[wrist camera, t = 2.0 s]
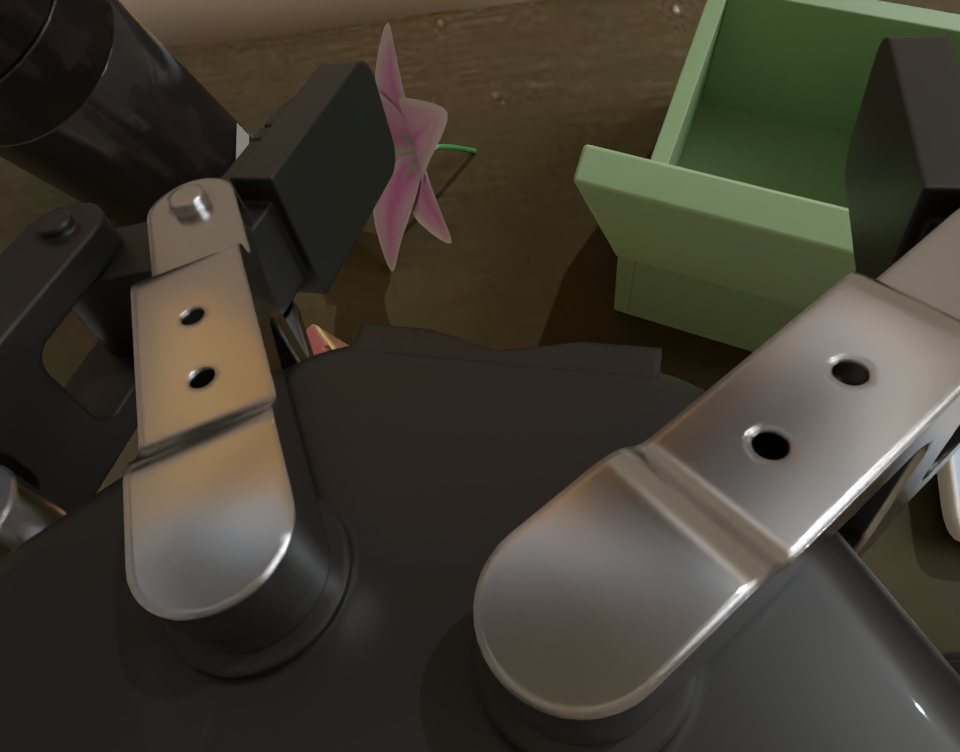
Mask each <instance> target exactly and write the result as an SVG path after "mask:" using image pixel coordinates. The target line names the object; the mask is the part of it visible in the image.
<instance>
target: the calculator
mask: <svg viewBox="0 0 960 752" xmlns="http://www.w3.org/2000/svg"><path fill="white" fill-rule="evenodd" d="M937 479H938V487H939V495H940V502H941V509H942V514H943V519H944V522H945V525H946V528H947V530H948V532H949V534H950V535H951V536H952V537H953V538H954V539H955V540H957V541H959V542H960V449H959V450H958V451H957V452H956V453H955V454H954V455H953V456H952V457H951V458H950V459H949V460H948V461H947V462H946V463H945V464H944V465H943V466H942V467H941V468H940V469H939V470H938V472H937Z"/></svg>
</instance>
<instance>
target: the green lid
mask: <svg viewBox="0 0 960 752" xmlns="http://www.w3.org/2000/svg"><path fill="white" fill-rule="evenodd" d="M574 183H575V184H576V186H577V188H578V190H579V191H580V193H581V195H582V197H583V198H584V200H585V202H586V204H587V205H588V207H589V209H590V211H591V212H592V214H593V216H594V218H595V219H596V221H597V223H598V225H599V226H600V228H601V230H602V232H603V233H604V235H605V237H606V239H607V240H608V242H609V244H610V246H611V247H612V249H613V251H614V253H615V254H616V255H617V256H619V257H622V258H626V259H629V260H633V261H637V262H640V263H644V264H647V265H651V266H654V267H658V268H661V269H665V270H668V271H672V272H675V273H679V274H682V275H686V276H689V277H693V278H696V279H700V280H704V281H707V282H711V283H714V284H718V285H721V286H725V287H728V288H732V289H735V290H739V291H742V292H746V293H749V294H753V295H756V296H760V297H764V298H767V299H771V300H774V301H778V302H781V303H785V304H788V305H792V306H795V307H799V308H802V309H806V308H807V307H808V306H809V305H811V304H812V303H813V302H814V301H815V300H817V299H818V298H819V297H820V296H821V295H823V294H824V293H825V292H826V291H827V290H829V289H830V288H831V287H832V286H833V285H835V284H836V283H837V282H838V281H840V280H841V279H842V278H843V277H845V276H846V275H848V274H850V273H852V272H854V271H856V267H855V259H854V251H853V242H852V234H851V226H850V218H849V210H848V208H845V207H841V206H837V205H833V204H829V203H825V202H820V201H816V200H812V199H808V198H804V197H800V196H796V195H792V194H788V193H784V192H780V191H776V190H772V189H768V188H763V187H759V186H755V185H751V184H747V183H743V182H739V181H735V180H731V179H727V178H723V177H719V176H715V175H711V174H707V173H702V172H698V171H694V170H690V169H686V168H682V167H678V166H674V165H670V164H666V163H662V162H658V161H654V160H650V159H645V158H641V157H637V156H633V155H629V154H625V153H621V152H617V151H613V150H609V149H605V148H601V147H597V146H593V145H585V146H584V147H583V149H582V153H581V156H580V159H579V162H578V165H577V169H576V172H575V175H574Z"/></svg>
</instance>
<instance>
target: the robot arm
mask: <svg viewBox="0 0 960 752" xmlns="http://www.w3.org/2000/svg"><path fill="white" fill-rule="evenodd" d="M0 157H2V158H4V159H6V160H7V161H9V162H11V163H13V164H15V165H16V166H18V167H20V168H22V169H23V170H25V171H27V172H29V173H31V174H32V175H34V176H36V177H38V178H39V179H41V180H43V181H45V182H47V183H48V184H50V185H52V186H54V187H55V188H57V189H59V190H61V191H63V192H64V193H66V194H68V195H70V196H71V197H73V198H75V199H77V200H78V201H80V202H82V203H76V204H71V205H67V206H64V207H61V208H58V209H56V210H53V211H51V212H49V213H47V214H46V215H44V216H42V217H40V218H39V219H37V220H36V221H34V222H33V223H32V224H31V225H29V226H28V227H27V228H26V229H25V230H24V231H23V232H22V233H21V234H20V235H19V236H18V237H17V238H16V240H15V241H14V242H13V243H12V244H11V245H10V246H9V247H8V248H7V249H6V250H5V251H4V252H3V253H2V254H1V255H0V752H960V676H959V674H958V673H957V672H956V671H955V670H954V669H953V667H952V666H951V665H950V664H949V663H948V661H947V660H946V659H945V658H944V657H943V656H942V654H941V653H940V652H939V651H938V650H937V648H936V647H935V646H934V645H933V644H932V642H931V641H930V640H929V639H928V638H927V637H926V635H925V634H924V633H923V632H922V631H921V629H920V628H919V627H918V626H917V625H916V624H915V622H914V621H913V620H912V619H911V618H910V616H909V615H908V614H907V613H906V612H905V610H904V609H903V608H902V607H901V606H900V605H899V603H898V602H897V601H896V600H895V599H894V597H893V596H892V595H891V594H890V593H889V592H888V590H887V589H886V588H885V587H884V586H883V584H882V583H881V582H880V581H879V580H878V578H877V577H876V576H875V575H874V574H873V573H872V571H871V570H870V569H869V568H868V567H867V565H866V564H865V563H864V562H863V561H862V560H861V558H860V557H861V556H862V555H863V554H864V553H865V552H866V551H867V550H868V549H869V548H870V547H871V546H872V545H873V543H874V542H875V541H876V540H877V539H878V538H879V537H880V535H881V534H882V533H883V532H884V531H885V530H886V528H887V527H888V526H889V525H890V524H891V522H892V521H893V520H894V519H895V517H896V516H897V515H898V514H899V513H900V511H901V510H902V509H903V508H904V507H905V505H906V504H907V503H908V502H909V501H910V500H911V499H912V498H913V497H914V495H915V494H916V493H917V492H918V491H919V490H920V489H921V488H922V487H923V486H924V485H925V484H926V483H927V482H928V481H929V480H930V479H931V478H932V477H933V476H934V475H935V474H936V473H937V472H938V470H939V469H940V468H941V467H942V466H943V465H944V464H945V463H946V462H947V461H948V460H949V459H950V458H951V457H952V456H953V455H954V454H955V453H956V452H957V451H958V450H959V449H960V68H959V65H958V62H957V60H956V57H955V54H954V51H953V48H952V45H951V43H950V40H949V37H948V36H947V35H925V36H904V37H885V38H884V39H883V40H882V42H881V44H880V46H879V48H878V50H877V53H876V56H875V59H874V62H873V66H872V69H871V73H870V76H869V79H868V83H867V86H866V89H865V93H864V96H863V99H862V103H861V106H860V110H859V113H858V116H857V120H856V123H855V126H854V130H853V133H852V136H851V140H850V144H849V148H848V153H847V159H846V168H845V185H846V193H847V201H848V210H849V218H850V226H851V234H852V242H853V251H854V259H855V267H856V271H854V272H852V273H850V274H848V275H846V276H845V277H843V278H842V279H841V280H840V281H838V282H837V283H836V284H835V285H833V286H832V287H831V288H830V289H829V290H827V291H826V292H825V293H824V294H823V295H821V296H820V297H819V298H818V299H817V300H815V301H814V302H813V303H812V304H811V305H809V306H808V307H807V308H806V309H805V310H803V311H802V312H801V313H800V314H799V315H797V316H796V317H795V318H794V319H793V320H791V321H790V322H789V323H788V324H787V325H785V326H784V327H783V328H782V329H781V330H779V331H778V332H777V333H776V334H775V335H773V336H772V337H771V338H770V339H769V340H767V341H766V342H765V343H764V344H762V345H761V346H760V347H759V348H758V349H756V350H755V351H754V352H753V353H752V354H750V355H749V356H748V357H747V358H746V359H744V360H743V361H742V362H741V363H740V364H738V365H737V366H736V367H735V368H734V369H732V370H731V371H730V372H729V373H728V374H726V375H725V376H724V377H723V378H722V379H720V380H719V381H718V382H717V383H716V384H714V385H713V386H712V387H711V388H710V389H708V390H707V391H706V392H705V391H703V390H702V389H700V388H698V387H696V386H695V385H692V384H690V383H688V382H685V381H683V380H681V379H678V378H676V377H673V376H670V375H667V374H664V373H661V372H660V369H661V355H662V348H653V347H641V346H629V345H617V344H604V343H592V342H573V343H564V344H555V345H546V346H537V347H528V348H519V349H510V350H494V349H490V348H487V347H483V346H480V345H477V344H474V343H471V342H468V341H465V340H462V339H458V338H455V337H452V336H449V335H446V334H443V333H440V332H437V331H433V330H430V329H421V328H409V327H397V326H384V325H372V324H363V325H362V328H361V330H360V332H359V334H358V336H357V338H356V340H355V342H354V344H353V345H352V346H346V347H341V348H337V349H332V350H329V351H326V352H323V353H320V354H316V355H314V354H313V350H312V347H311V344H310V341H309V338H308V335H307V332H306V329H305V326H304V323H303V320H302V316H301V313H300V311H299V309H298V307H297V305H296V303H295V302H294V300H293V298H294V297H295V295H296V293H297V292H307V293H322V294H326V293H327V291H328V290H329V288H330V286H331V284H332V282H333V281H334V279H335V277H336V275H337V273H338V272H339V270H340V268H341V266H342V265H343V263H344V261H345V259H346V257H347V256H348V254H349V252H350V250H351V248H352V247H353V245H354V243H355V241H356V240H357V238H358V236H359V234H360V232H361V231H362V229H363V227H364V225H365V223H366V222H367V220H368V218H369V216H370V215H371V213H372V211H373V209H374V207H375V206H376V204H377V202H378V200H379V199H380V197H381V195H382V193H383V191H384V190H385V188H386V186H387V184H388V182H389V181H390V179H391V177H392V175H393V172H394V167H395V147H394V142H393V138H392V135H391V132H390V128H389V125H388V122H387V118H386V115H385V111H384V108H383V105H382V101H381V98H380V95H379V91H378V88H377V85H376V81H375V78H374V75H373V73H372V70H371V69H370V67H369V66H368V64H367V63H365V62H364V61H352V62H331V63H323V64H321V65H320V66H319V67H318V69H317V70H316V71H315V72H314V74H313V75H312V76H311V77H310V79H309V80H308V81H307V82H306V84H305V85H304V86H303V87H302V89H301V90H300V91H299V92H298V94H297V95H296V96H295V97H293V98H292V99H290V100H289V101H287V102H286V103H285V104H283V105H282V106H280V107H279V108H278V109H277V110H276V111H275V112H274V114H273V115H272V116H271V117H270V119H269V120H268V121H267V122H266V123H265V128H261V130H260V131H259V132H258V133H257V135H256V136H255V137H254V136H253V135H252V134H251V133H250V132H248V131H247V130H246V129H244V128H243V127H242V126H241V125H240V124H239V123H238V122H237V121H236V120H235V119H234V118H233V117H232V116H231V115H230V114H229V113H228V112H227V110H226V109H225V108H224V107H223V106H222V105H221V104H220V103H219V102H218V101H217V100H216V99H215V98H214V97H213V96H212V95H211V94H210V93H209V92H208V91H207V90H206V89H205V88H204V87H203V86H202V85H201V84H200V83H199V82H198V81H197V80H196V79H195V78H194V77H193V76H192V75H191V74H190V73H189V71H188V70H187V69H186V68H185V67H184V66H183V65H182V64H181V63H180V62H179V61H178V60H177V59H176V58H175V57H174V56H173V55H172V54H171V53H170V52H169V51H168V50H167V49H166V48H165V47H164V46H163V45H162V44H161V43H160V42H159V41H158V40H157V39H156V38H155V37H154V36H153V35H152V34H151V33H150V32H149V31H148V30H147V28H145V27H144V25H143V24H142V23H140V21H139V20H138V19H137V18H136V17H135V16H134V15H133V14H132V13H131V12H130V11H129V10H128V9H127V8H126V7H125V6H124V5H123V4H122V3H121V2H120V1H119V0H0ZM107 217H109V218H110V219H112V220H114V221H116V222H118V223H119V224H121V225H123V226H124V227H119V228H115V227H114V226H113V224H112V223H111V222H110V220H109V219H108V218H107ZM71 310H72V311H73V312H74V313H75V314H76V315H77V317H78V318H79V319H80V320H81V321H82V322H83V323H84V324H85V325H86V326H87V327H88V329H89V330H90V331H91V332H92V333H93V334H94V335H95V336H96V337H97V338H98V339H99V341H98V342H97V343H96V345H95V346H94V347H93V349H92V350H91V351H90V353H89V354H88V356H87V357H86V358H85V360H84V361H83V362H82V364H81V365H80V366H79V368H78V369H77V370H76V372H75V373H74V375H73V376H72V377H71V379H70V380H69V381H68V383H67V384H66V385H65V387H64V388H63V387H62V386H61V385H60V384H58V383H57V382H56V381H55V380H54V379H53V378H52V377H51V376H50V375H49V374H48V373H47V371H46V370H45V368H44V365H43V362H42V351H43V347H44V345H45V343H46V341H47V340H48V339H49V337H50V336H51V335H52V334H53V332H54V331H55V330H56V329H57V327H58V326H59V325H60V324H61V322H62V321H63V320H64V319H65V317H66V316H67V315H68V314H69V312H70V311H71ZM137 426H138V442H139V451H138V456H137V458H136V459H135V460H133V461H132V462H130V463H129V464H128V465H127V467H126V469H125V472H124V476H123V477H121V478H120V479H118V480H117V481H115V482H114V483H112V484H111V485H109V486H108V487H106V488H105V489H103V490H102V491H100V492H99V493H97V494H96V492H97V491H98V489H99V488H100V486H101V484H102V483H103V481H104V480H105V478H106V476H107V475H108V473H109V471H110V470H111V468H112V467H113V465H114V463H115V462H116V460H117V459H118V457H119V455H120V454H121V452H122V451H123V449H124V447H125V446H126V444H127V442H128V441H129V439H130V438H131V436H132V434H133V433H134V431H135V430H136V428H137ZM95 494H96V495H95Z"/></svg>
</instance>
